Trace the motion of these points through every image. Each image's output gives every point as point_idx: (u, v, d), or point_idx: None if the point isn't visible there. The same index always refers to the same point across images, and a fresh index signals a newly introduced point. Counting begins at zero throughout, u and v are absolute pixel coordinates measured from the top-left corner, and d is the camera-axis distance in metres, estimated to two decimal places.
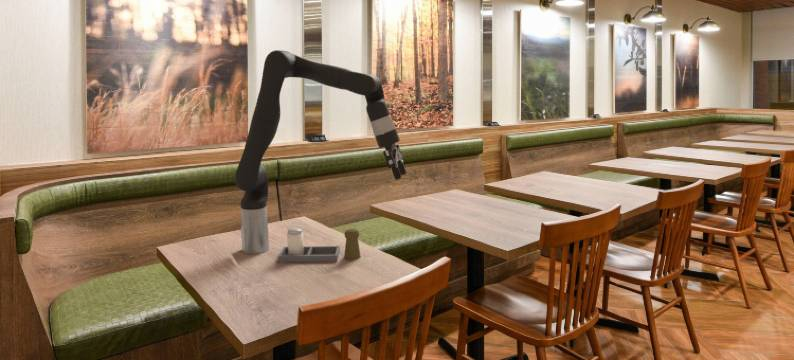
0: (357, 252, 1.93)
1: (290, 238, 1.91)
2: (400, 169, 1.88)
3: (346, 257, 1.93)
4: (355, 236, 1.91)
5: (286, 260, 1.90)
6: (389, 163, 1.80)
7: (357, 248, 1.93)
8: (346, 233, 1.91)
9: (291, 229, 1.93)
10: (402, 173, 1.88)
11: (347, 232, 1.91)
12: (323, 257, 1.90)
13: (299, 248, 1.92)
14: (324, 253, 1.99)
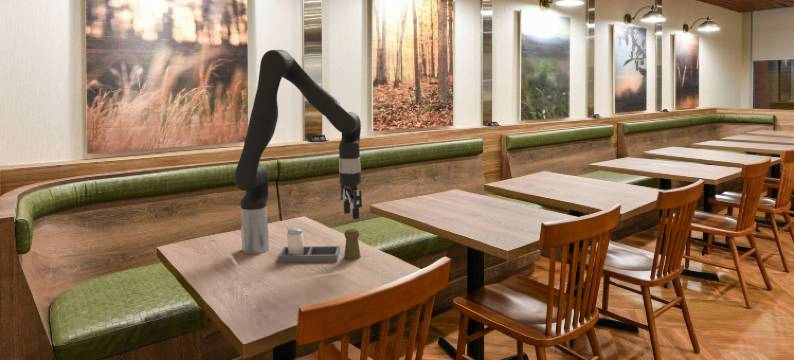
0: (357, 252, 1.93)
1: (290, 238, 1.91)
2: (346, 208, 1.95)
3: (346, 257, 1.93)
4: (355, 236, 1.91)
5: (286, 260, 1.90)
6: (352, 202, 1.86)
7: (357, 248, 1.93)
8: (346, 233, 1.91)
9: (291, 229, 1.93)
10: (347, 212, 1.95)
11: (347, 232, 1.91)
12: (323, 257, 1.90)
13: (299, 248, 1.92)
14: (324, 253, 1.99)
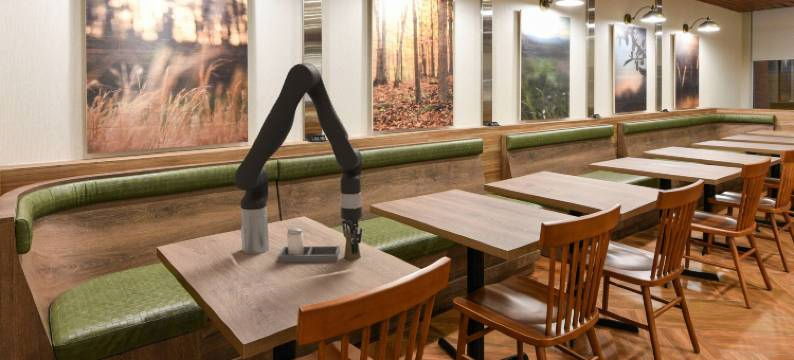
0: None
1: (290, 238, 1.91)
2: None
3: (346, 257, 1.93)
4: None
5: (286, 260, 1.90)
6: (352, 238, 1.90)
7: None
8: (346, 233, 1.91)
9: (291, 229, 1.93)
10: None
11: (347, 232, 1.91)
12: (323, 257, 1.90)
13: (299, 248, 1.92)
14: (324, 253, 1.99)
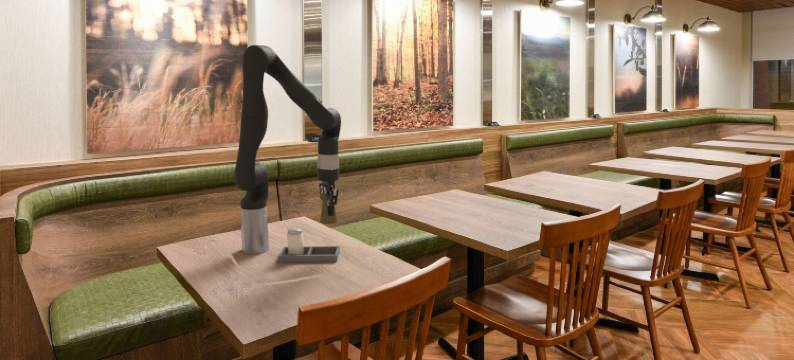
0: None
1: (290, 238, 1.91)
2: None
3: (322, 219, 1.91)
4: None
5: (286, 260, 1.90)
6: (328, 200, 1.88)
7: None
8: (323, 195, 1.89)
9: (291, 229, 1.93)
10: None
11: (324, 194, 1.89)
12: (323, 257, 1.90)
13: (299, 248, 1.92)
14: (324, 253, 1.99)
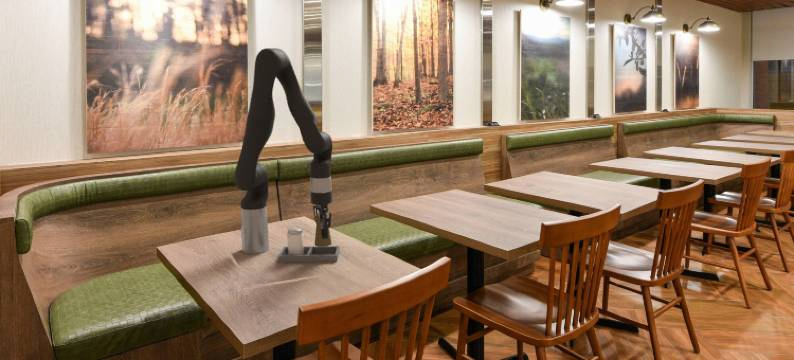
0: None
1: (290, 238, 1.91)
2: None
3: (316, 242, 1.92)
4: None
5: (286, 260, 1.90)
6: (321, 223, 1.90)
7: None
8: (316, 218, 1.91)
9: (291, 229, 1.93)
10: None
11: (317, 217, 1.91)
12: (323, 257, 1.90)
13: (299, 248, 1.92)
14: (324, 253, 1.99)
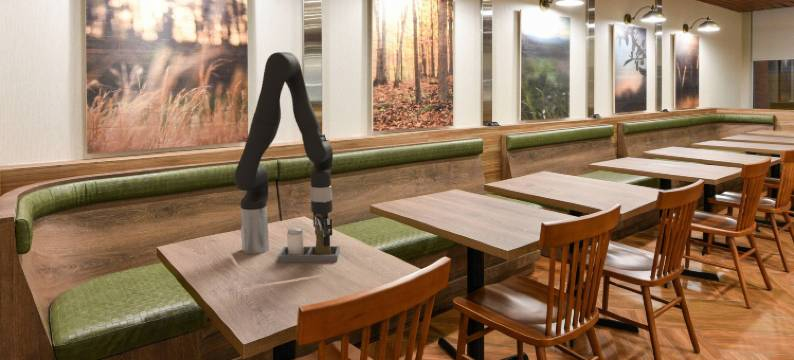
0: (327, 249, 1.93)
1: (290, 238, 1.91)
2: None
3: (316, 254, 1.93)
4: None
5: (286, 260, 1.90)
6: (323, 230, 1.89)
7: None
8: (316, 230, 1.92)
9: (291, 229, 1.93)
10: None
11: (317, 229, 1.92)
12: (323, 257, 1.90)
13: (299, 248, 1.92)
14: None
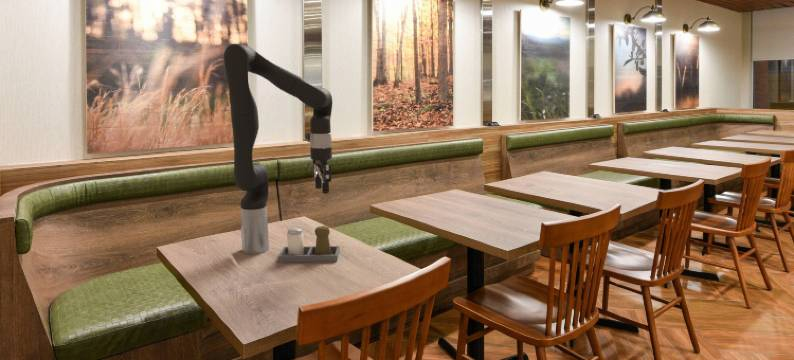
0: (327, 249, 1.93)
1: (290, 238, 1.91)
2: (317, 183, 1.98)
3: (316, 254, 1.93)
4: (325, 233, 1.92)
5: (286, 260, 1.90)
6: (322, 177, 1.89)
7: (327, 245, 1.93)
8: (316, 230, 1.92)
9: (291, 229, 1.93)
10: (318, 187, 1.98)
11: (317, 229, 1.92)
12: (323, 257, 1.90)
13: (299, 248, 1.92)
14: None
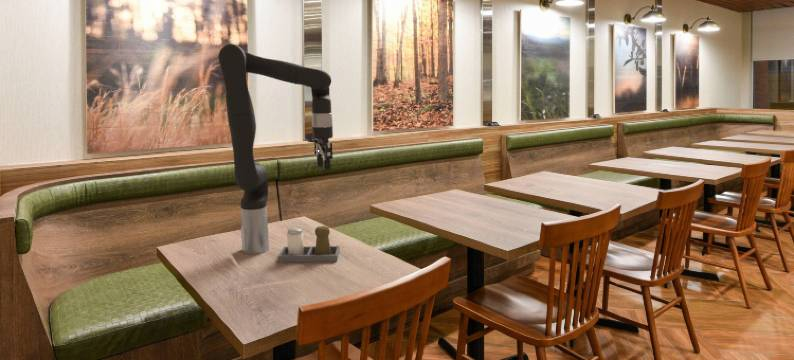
0: (327, 249, 1.93)
1: (290, 238, 1.91)
2: (319, 161, 2.08)
3: (316, 254, 1.93)
4: (325, 233, 1.92)
5: (286, 260, 1.90)
6: (324, 154, 2.00)
7: (327, 245, 1.93)
8: (316, 230, 1.92)
9: (291, 229, 1.93)
10: (320, 165, 2.09)
11: (317, 229, 1.92)
12: (323, 257, 1.90)
13: (299, 248, 1.92)
14: None
